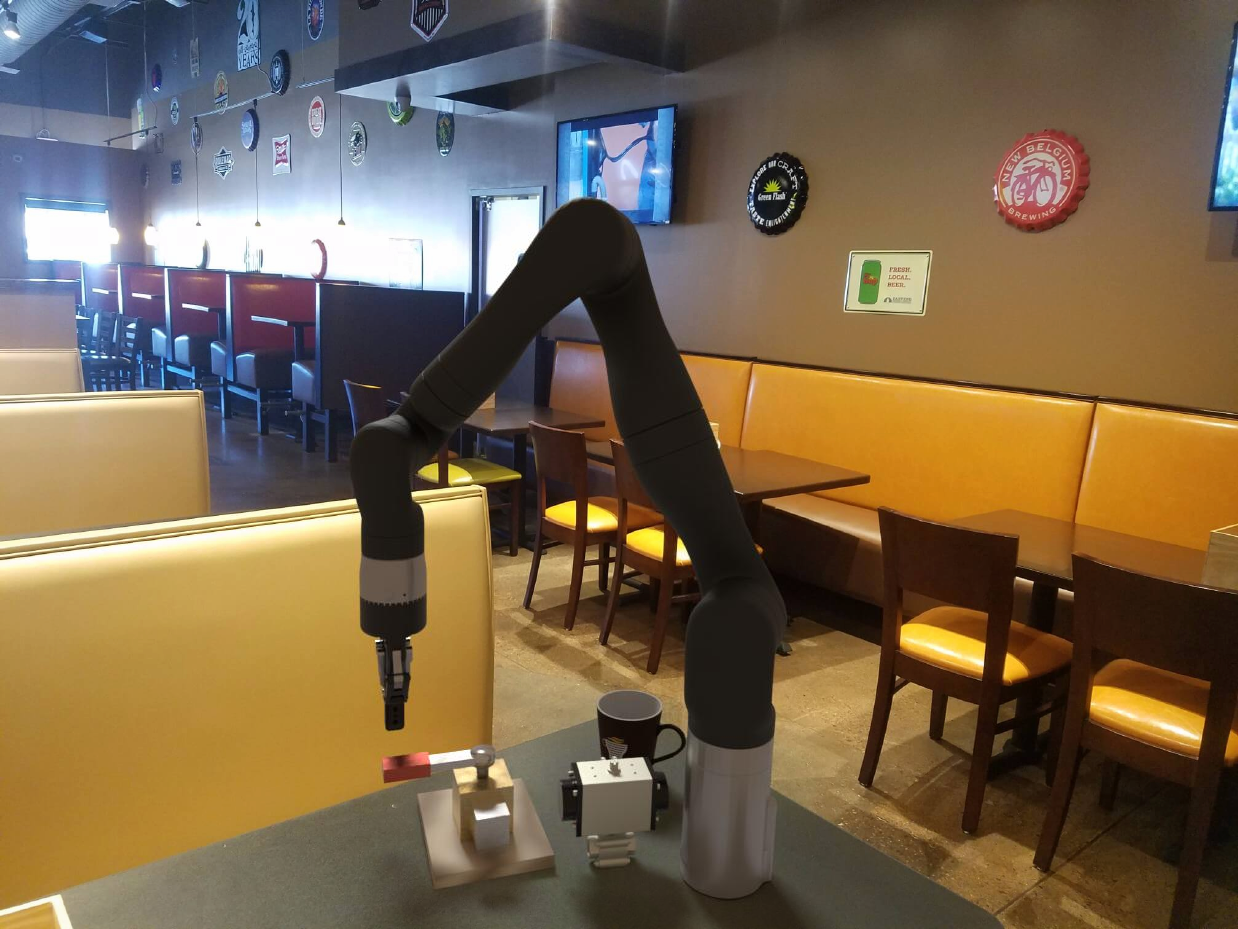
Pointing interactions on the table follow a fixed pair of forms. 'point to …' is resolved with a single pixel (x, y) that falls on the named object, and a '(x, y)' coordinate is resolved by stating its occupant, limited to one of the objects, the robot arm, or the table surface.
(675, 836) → the table surface
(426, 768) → the lever
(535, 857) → the mounting board
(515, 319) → the robot arm
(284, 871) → the table surface
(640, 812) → the pneumatic valve
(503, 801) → the valve
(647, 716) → the coffee mug
